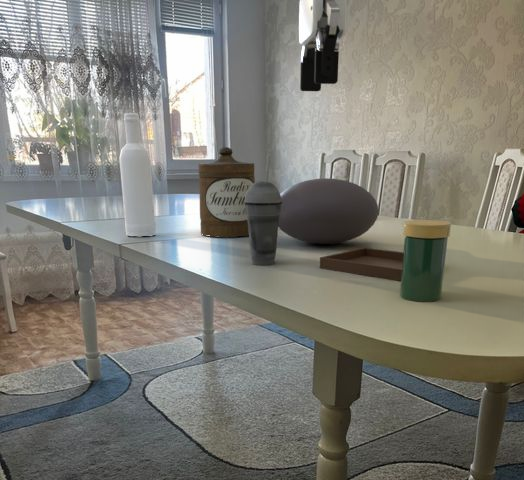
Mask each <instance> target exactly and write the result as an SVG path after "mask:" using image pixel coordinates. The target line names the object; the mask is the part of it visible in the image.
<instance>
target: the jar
mask: <svg viewBox="0 0 524 480" xmlns="http://www.w3.org/2000/svg"><path fill="white" fill-rule="evenodd" d="M448 238H449V237H445V238H416V237H409V236H405V235H404V242H403V251H402V252H403V265H402V277H401V281H400V290H399V297H400V298H402V299H404V300H407V301H413V302H419V303H420V302H421V303H429V302H437V301H440V300H441V299H442V295H443V294H442V293H443V285H444V275H445V266H446V259H447V258H446V256H447V249H448V248H447V247H448V241H449V240H448Z"/></svg>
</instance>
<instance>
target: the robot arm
mask: <svg viewBox="0 0 524 480" xmlns="http://www.w3.org/2000/svg"><path fill="white" fill-rule="evenodd" d="M347 5H348V3H347V0H299V8H298V9H299V10H298V38H299V39H298V41H299V44H300V45H301V55H300V74H299V75H300V76H299V79H300V80H299V81H300V83H299V88H300V89H299V90H300V91H301V92H320V91H321V90H322V85H336V84H338V81H339V60H340V59H339V58H340V51H339V49H340V40H341V39H342V38H343V37H344V36H345V35H346V34H347V33H346V32H347V7H348V6H347Z"/></svg>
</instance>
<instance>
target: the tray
mask: <svg viewBox="0 0 524 480" xmlns="http://www.w3.org/2000/svg"><path fill="white" fill-rule="evenodd" d="M403 252H404V251H398V250H396V251H395V250H388V249H380V248H371V247H364V246H363V247H361V248H355V249H352V250H346V251H342V252H338V253H334V254H330V255H326V256H321V257H319V269H325V270H331V271H335V272H342V273H348V274H353V275H360V276H367V277H373V278H377V279H378V278H379V279H386V280H391V281H397V282H401V277H402V265H403Z"/></svg>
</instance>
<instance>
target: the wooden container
mask: <svg viewBox="0 0 524 480" xmlns="http://www.w3.org/2000/svg"><path fill="white" fill-rule="evenodd" d="M218 153H219V155H220V156H219V157H218V159H217V160H215V161H213V162H203V163H198V165H197V167H198V168H197V169H198V171H197V172H198V184H199V185H198V186H199V219H200V234H201V235H202V234H203V235H210V236H219V237H235V238H237V237H236V236H245V237H248V236H247V235H249V231H248V221H247V214H246V210H245V204H244V202H245V195H246V192H247V190H248V189H249V187H250V186H251V185H252V184H254V183H256V178H255V177H256V176H255V162H245V161H244V162H243V161H238V160H236V159H235V158H234V157H233V153H234V152H233V149H232V148H230V147H227V146H223V147H222V148H220V149H219V151H218ZM203 235H202V236H203Z"/></svg>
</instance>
